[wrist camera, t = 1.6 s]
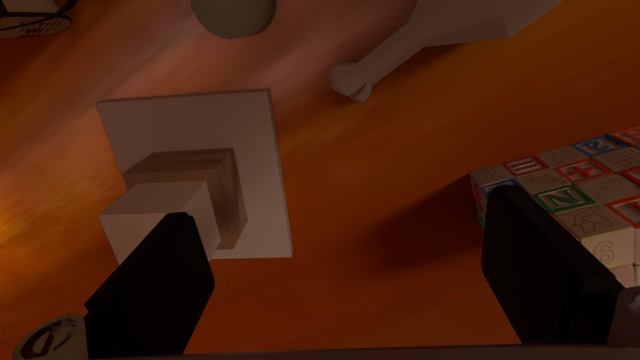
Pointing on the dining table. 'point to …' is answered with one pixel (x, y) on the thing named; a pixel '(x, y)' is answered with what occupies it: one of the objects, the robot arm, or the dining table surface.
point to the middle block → (158, 214)
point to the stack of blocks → (583, 195)
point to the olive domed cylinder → (234, 16)
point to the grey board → (213, 133)
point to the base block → (200, 166)
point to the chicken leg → (436, 36)
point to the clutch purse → (32, 17)
